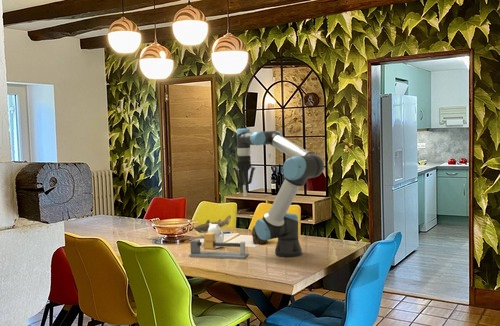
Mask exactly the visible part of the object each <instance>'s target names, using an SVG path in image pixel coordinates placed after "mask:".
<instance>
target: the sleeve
mask: <svg viewBox="0 0 500 326" xmlns="http://www.w3.org/2000/svg"><path fill="white" fill-rule="evenodd" d="M203 240H204V247H203V249H204V250H208V251H214V248H216V246H213V242H215V233H208V232H207V233H204V234H203ZM216 249H217V248H216Z"/></svg>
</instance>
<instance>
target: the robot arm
mask: <svg viewBox="0 0 500 326" xmlns="http://www.w3.org/2000/svg"><path fill="white" fill-rule="evenodd" d="M261 145H262V146H263V145H264V146H265V145H270V146H272V147H273V148H275V149H277V150H278V151H279V152H282V153H284V154H285V155H287V157H288V158H287V159H286V160H285V161H284V163H283V166H282V169H283V170H282V173H283V178H284V180H283V183H282V184H281V186H280V188H279V191H278V193H277V194H276V197H275V199H274V201H273V202H272V204H271V207H270V209H269V210H267V211H266V212H265V213H264V214H263V216H262V218H258V219H257V220H256V221H255V224H254V226H255V230H256V233H257V235H258V237H259V238H260V239H262V240H267V241H270V240H273V239H277V242H276V246H275V248H274V254H275V255H276V256H279V257H285V258H286V257H287V258H288V257H289V258H290V257H291V258H293V257H298V256H301V255H302V254H303V250H302V247H301V244H300V241H299V216H298V215H297V214H296V213H292V212H291V213H290V212H288V210H289V209H290V207H291V205H292V203H293V201H294V199H295V197H296V195H297V193H298V191H299V189H300V188H301V187H303V186H305V184H306V183H307V180H308V179H313V178H314V179H315V178H316V177H319V176H320V175H321V174H322V173H323V171H324V169H325V161H324V159H323V158H322V157H321V156H320V155H318V154H317V153H315V152H314V151H313V150H311V151H308V150H306V149H304V148H303V147H302V146H299V145H297V143H294V142H293V141H291V140H289V139H287V138H285V137H284V136H283V134H282V133H281V131H277V130H266V131H263V130H262V131H259V130H258V131H251V129H250V128H249V127H248V128H237V130H236V146H237V150H236V152H237V157H236V158H237V164H236V166H235V167H233V168H232V169H233V170H234V173H235V176H236V180H237V184H239V185H240V187H241V189H240V190H241V191H242V196H243V197H248V191H249V185H251V184H252V181H253V177H254V173H255V172H254V171H255V170H256V167H255V166H253V164H252V162H251V160H252V159H251V158H252V157H251V146H261ZM249 170H250V171H249ZM239 171H240V173H239ZM249 172H250V174H249Z"/></svg>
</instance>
